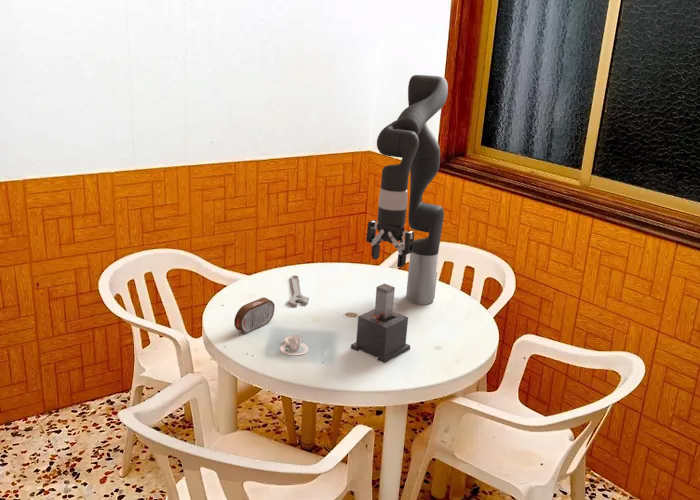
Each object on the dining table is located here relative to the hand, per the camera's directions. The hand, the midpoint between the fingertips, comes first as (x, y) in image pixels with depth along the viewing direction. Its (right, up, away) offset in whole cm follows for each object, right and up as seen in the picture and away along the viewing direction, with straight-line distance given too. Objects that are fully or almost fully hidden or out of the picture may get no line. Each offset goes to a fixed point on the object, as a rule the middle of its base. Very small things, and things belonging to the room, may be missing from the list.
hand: (387, 262), depth 182 cm
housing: (-2, -25, +8) cm, 26 cm away
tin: (-38, -20, +16) cm, 46 cm away
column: (-2, -25, +8) cm, 26 cm away
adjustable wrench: (-28, -11, +44) cm, 53 cm away
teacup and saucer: (-24, -24, +8) cm, 35 cm away
